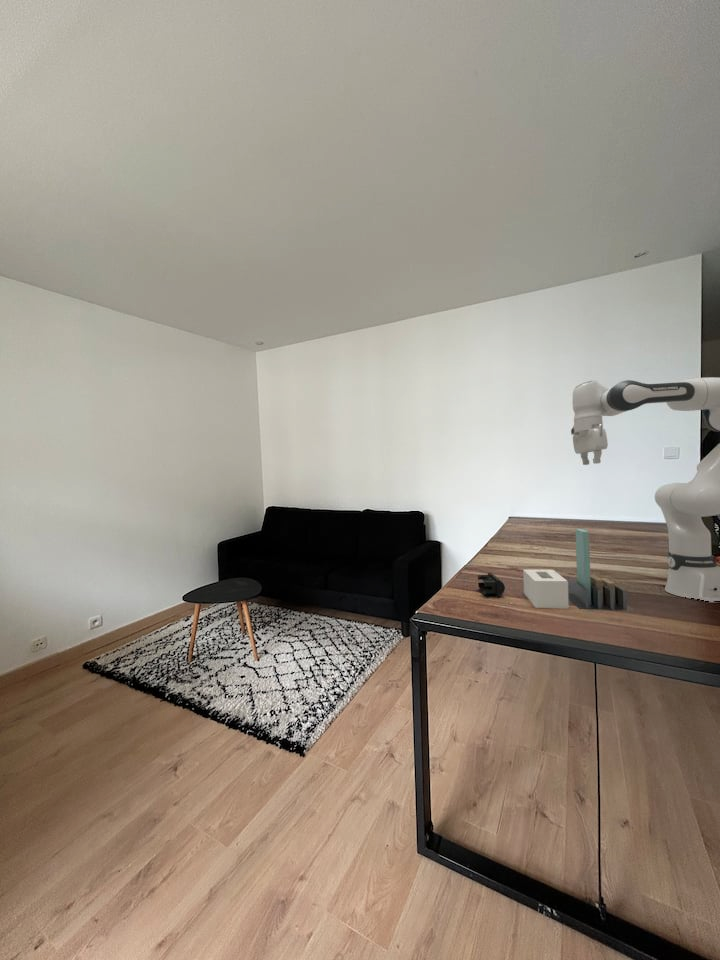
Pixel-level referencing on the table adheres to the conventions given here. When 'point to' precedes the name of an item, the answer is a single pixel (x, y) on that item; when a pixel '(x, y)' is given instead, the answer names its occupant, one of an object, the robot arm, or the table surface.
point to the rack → (597, 597)
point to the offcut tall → (597, 584)
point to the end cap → (490, 585)
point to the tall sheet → (583, 559)
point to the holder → (545, 588)
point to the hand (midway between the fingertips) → (591, 464)
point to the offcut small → (609, 585)
